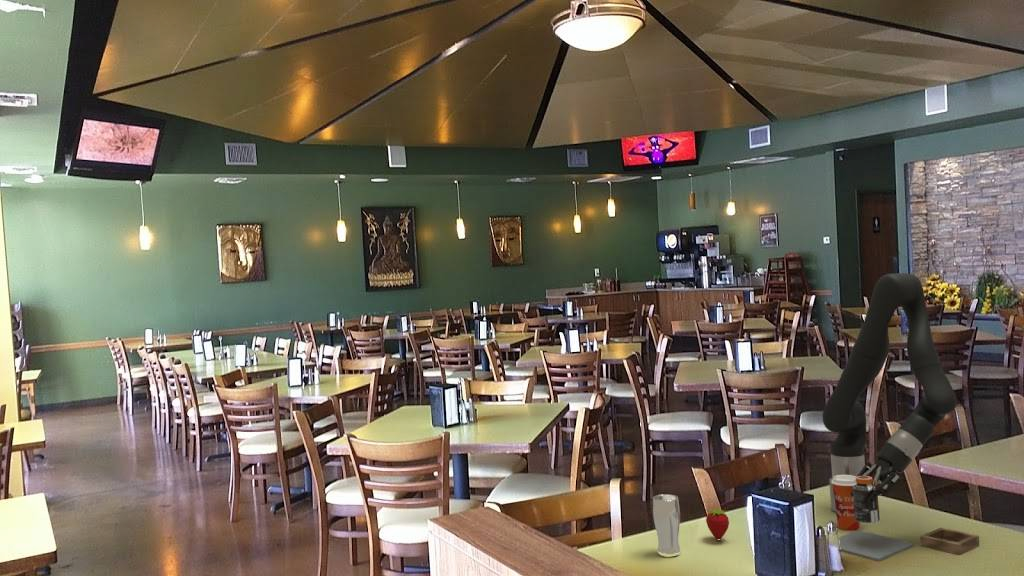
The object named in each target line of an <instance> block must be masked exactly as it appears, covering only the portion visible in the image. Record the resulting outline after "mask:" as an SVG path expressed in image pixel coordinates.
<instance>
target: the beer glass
mask: <svg viewBox="0 0 1024 576" xmlns="http://www.w3.org/2000/svg"><path fill="white" fill-rule="evenodd" d="M679 503H680V502H679V497H678V495H674V494H667V493H666V494H657V495H655V496H653V497H652V514H653V522H654V526H655V531H656V535H657V541H658V545H657V546H658V547H657V552H658V551H659V552H661V553H666V554H674V553H678V552H680V551H681V548H680V543H679V542H680V541H679V536H680V535H679V533H680V525H681V524H680V523H681V512H680V511H681V509H680V504H679Z"/></svg>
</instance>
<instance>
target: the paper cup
mask: <svg viewBox="0 0 1024 576" xmlns="http://www.w3.org/2000/svg"><path fill="white" fill-rule="evenodd" d="M831 483H833V491H834V499H835V507H836V512H835V513H836V522H837V527H838V528H839V529H840V530H843V529H844V530H843V531H856V530H857V529H858V530H859V529H860V525H861V522H858V521H856V520H855V512H854V500H853V497H852V496H851V495H850V493H851V492H852V490H853V486H854V485H856V484H857V483H856V476H853V475H836V476H834V477H833V480H832V481H831Z"/></svg>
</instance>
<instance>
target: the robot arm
mask: <svg viewBox="0 0 1024 576" xmlns="http://www.w3.org/2000/svg"><path fill="white" fill-rule="evenodd" d="M898 308H902V310H903V312H904V315H905V317H906V321H907V329H908V330H907V337H906V338H907V339H906V352H907V357H908V361H909V363H910V364H909V365H910V366H911V369H912V372H913V375H914V377H915V380H916V381H918V382H919V383H920V384H921V387H922V391H923V392H924V395H923V396H922V397H921V399H920V401H919V402H918V403H917V405H916V406H915V407H914V410H913V411H912V412H911V414H910V415H908V417H906V419H905V420H904V421H903V422H902V424H900V426H899V427H898V429H897V430H896V431H894V433H892V434H891V435H890V437H889V438H888V439H887V440H886V441H885V443H884V444H883V445H882V447H881V448H880V449H879V450H878V451H877V453H876V457H877V461H876V462H874V463H873V464H872V463H871V462H870V461H867V462H866V461H865V447H866V444H867V417H866V411H865V409H864V406H863V404H861V402H860V401H859V400H858V399H859V398H860V396H861V394H862V393H863V392H864V391H865V390H866V389H867V388H868V387H869V386H870V385H871V383H873V381H874V380H875V379H876V378H877V377H878V376H879V374H880V373H881V371H882V369H883V368H884V366H885V363H886V360H887V359H888V356H889V354H890V348H891V347H890V346H891V345H890V344H891V343H890V337H889V326H890V323H891V320H892V318H893V315H894V314H895V312H896V310H897V309H898ZM927 309H928V308H927V304H926V297H925V292H924V288H923V285H922V282H921V280H920V279H919V278H918V276H916V275H915V274H913V273H907V272H897V273H888V274H884V275H882V276H881V277H880V278H879V279H878V280H877V282H876V283H875V286H874V288H873V292H872V295H871V298H870V301H869V304H868V309H867V312H866V315H865V317H864V320H863V323H862V325H861V328H860V331H859V334H858V335H857V337H856V340H855V341H854V344H853V346H852V348H851V351H850V353H849V356H848V358H847V361H846V363H845V366H844V368H843V370H842V373H841V374H840V377H839V380H838V382H837V384H836V386H835V388H834V390H833V391H832V393H831V395H830V397H829V398H828V400H827V402H826V404H825V406H824V407H823V410H822V423H823V424H824V427H825V428H826V430H827V431H830V432H832V433H834V434H835V433H838V435H837V436H836V438H835V439H834V440H833V441H832V442H831V443H830V447H829V448H830V463H831V477H830V478H829V495H830V496H829V497H830V498H829V499H830V510H831V511H834V513H836V507H835V499H834V491H833V483H831V481H832V480H833V477H834V476H836V475H853V476H856V477H858V476H869V477H872V479H873V487H872V490H870V491H869V492H868V493H867V495H866V496H865V497H864V498H863V500H862V501H863V502H864V503H865V504H866V505H868V506H870V505H871V504H872V503H873V502H874V500H875V499H876V498H877V497H878V498H879V496H882V495H883V496H887V495H888V494H889V493H890V492H891V491H892V490H893V489H894V488H895V487H896V486H897V484H899V482H901V480H902V477H900V476H899V475H898V474H902V473H904V472H905V470H906V469H908V467H909V465H910V464H911V463H912V462H913V460H914V459H915V458H916V457H917V456H918V454H919V453H920V451H921V449H922V448H923V446H924V445H925V444H926V443H927V441H929V439H930V438H931V437H932V435H933V433H934V431H935V428H936V427H937V426H938V425H939V423H940V422H941V421H942V420H943V419H944V418H945V416H947V415H948V414H950V413H952V412H953V411H954V410H955V409H956V406H957V402H958V401H957V396H956V393H955V391H954V388H953V386H952V385H951V382H950V380H949V379H948V377H947V374H946V373H945V372H944V369H943V366H942V362H941V360H940V357H939V354H938V352H937V349H936V346H935V345H936V344H935V342H934V340H933V338H934V337H933V336H932V332H931V326H930V320H929V315H928V314H929V313H928V310H927ZM850 495H851V496H852V497H853V490H852V492H851V493H850Z"/></svg>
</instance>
